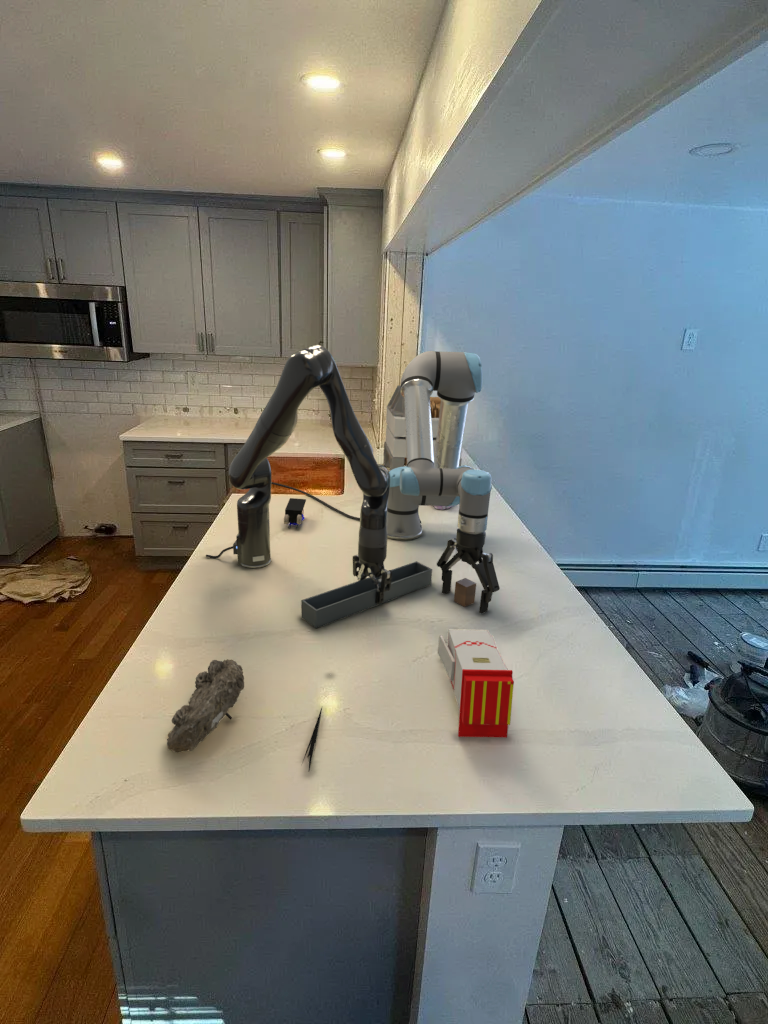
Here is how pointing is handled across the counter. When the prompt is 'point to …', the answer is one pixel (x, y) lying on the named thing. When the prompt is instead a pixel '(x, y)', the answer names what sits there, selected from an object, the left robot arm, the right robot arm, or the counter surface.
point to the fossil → (206, 705)
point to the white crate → (404, 430)
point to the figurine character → (294, 512)
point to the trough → (362, 595)
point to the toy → (478, 682)
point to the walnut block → (465, 592)
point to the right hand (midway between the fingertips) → (464, 601)
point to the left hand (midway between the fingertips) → (370, 597)
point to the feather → (313, 740)
